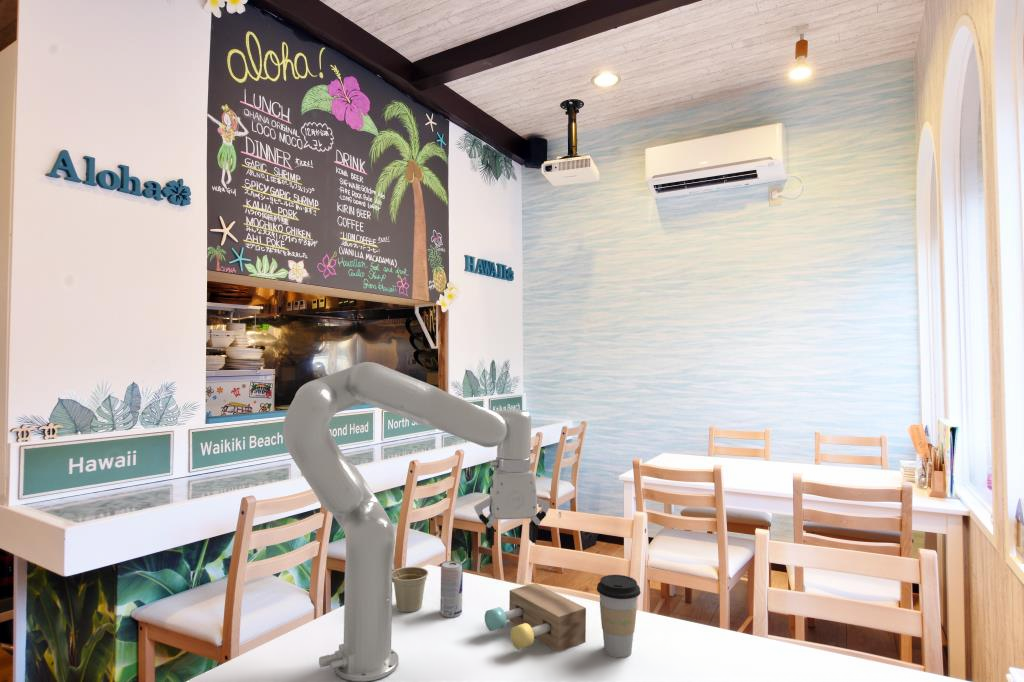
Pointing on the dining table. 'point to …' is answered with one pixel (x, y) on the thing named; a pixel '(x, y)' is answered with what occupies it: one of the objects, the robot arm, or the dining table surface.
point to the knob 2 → (527, 634)
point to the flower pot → (409, 587)
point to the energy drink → (451, 589)
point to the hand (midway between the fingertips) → (511, 542)
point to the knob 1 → (500, 617)
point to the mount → (550, 615)
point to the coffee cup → (618, 613)
